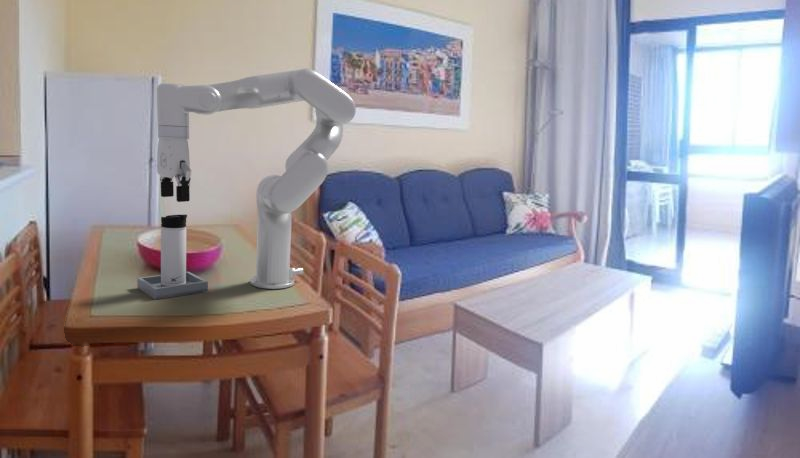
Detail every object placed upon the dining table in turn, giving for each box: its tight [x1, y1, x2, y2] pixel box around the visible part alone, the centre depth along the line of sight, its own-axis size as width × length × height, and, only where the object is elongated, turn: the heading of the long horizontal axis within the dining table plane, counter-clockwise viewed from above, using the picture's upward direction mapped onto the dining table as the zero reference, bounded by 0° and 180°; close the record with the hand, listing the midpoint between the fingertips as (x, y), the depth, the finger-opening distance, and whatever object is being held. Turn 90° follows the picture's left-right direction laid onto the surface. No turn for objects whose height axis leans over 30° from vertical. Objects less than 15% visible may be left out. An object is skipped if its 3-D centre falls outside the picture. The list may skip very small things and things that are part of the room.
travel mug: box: [160, 213, 188, 287], centre depth 150 cm, size 6×7×20 cm
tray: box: [136, 271, 209, 300], centre depth 151 cm, size 14×12×3 cm
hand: (175, 198), depth 148 cm, fingers open, 9 cm apart
